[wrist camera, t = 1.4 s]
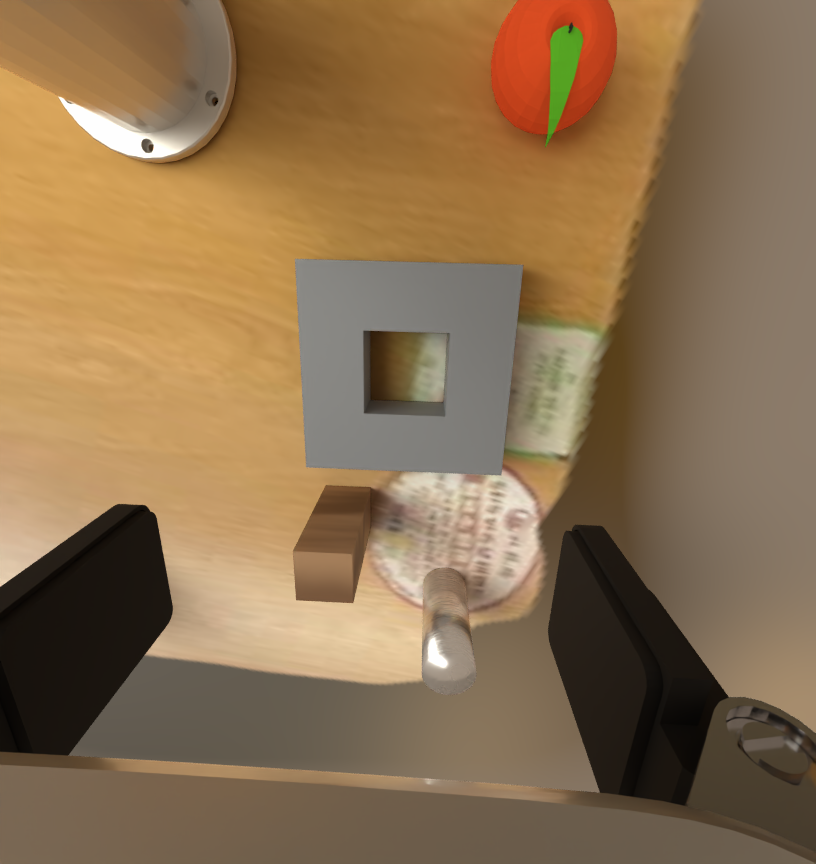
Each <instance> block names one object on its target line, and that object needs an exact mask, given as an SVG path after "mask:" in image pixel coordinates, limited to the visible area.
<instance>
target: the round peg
mask: <svg viewBox="0 0 816 864" xmlns="http://www.w3.org/2000/svg"><path fill="white" fill-rule="evenodd" d="M422 678H423V681H424V683H425V684H426V685H427V686H428V687H429V688H430V689H431V690H433V691H435V692H437V693H440V694H444V695H455V694H459V693H462V692H464V691H466V690H468V689H469V688H470V687H471V686H472V685H473V683H474V682H475V679H476V667H475V659H474V652H473V643H472V636H471V627H470V619H469V611H468V603H467V595H466V587H465V581H464V579H463V577H462V575H461V574H460V573H458V572H457V571H455V570H453V569H450V568H438V569H435V570H433V571H431V572H430V573H428V574H427V575H426V577H425V579H424V582H423V626H422Z"/></svg>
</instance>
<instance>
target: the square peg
mask: <svg viewBox="0 0 816 864" xmlns="http://www.w3.org/2000/svg"><path fill="white" fill-rule="evenodd" d="M370 528H371V487H349V486H325V488H324V490H323V492H322V494H321V496H320V498H319V500H318V502H317V504H316V506H315V508H314V510H313V512H312V514H311V516H310V518H309V520H308V522H307V524H306V526H305V528H304V530H303V532H302V534H301V536H300V538H299V540H298V542H297V544H296V546H295V548H294V550H293V560H294V575H295V589H296V600H303V601H322V602H341V603H353V601H354V597H355V593H356V589H357V584H358V580H359V576H360V571H361V567H362V563H363V558H364V554H365V550H366V546H367V541H368V537H369V533H370Z"/></svg>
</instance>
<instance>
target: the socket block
mask: <svg viewBox="0 0 816 864" xmlns="http://www.w3.org/2000/svg"><path fill="white" fill-rule="evenodd" d="M295 267H296V286H297V304H298V323H299V341H300V360H301V378H302V397H303V415H304V434H305V452H306V467H313V468H337V469H361V470H385V471H410V472H434V473H458V474H482V475H501V473H502V463H503V454H504V444H505V435H506V425H507V416H508V406H509V397H510V387H511V378H512V368H513V359H514V349H515V340H516V330H517V320H518V311H519V301H520V292H521V282H522V273H523V265H507V264H469V263H431V262H393V261H355V260H317V259H295ZM370 331H396V332H428V333H447V347H446V365H445V384H444V402H417V401H390V400H371V382H370Z"/></svg>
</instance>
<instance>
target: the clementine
mask: <svg viewBox="0 0 816 864" xmlns="http://www.w3.org/2000/svg"><path fill="white" fill-rule="evenodd" d="M616 48H617V28H616V23H615V18H614V13H613V10H612V8H611V6H610V4H609V2H608V0H518V1H517V3H516V4H515V5H514V7H513V8H512V10H511V11H510V13H509V14H508V16H507V17H506V19H505V21H504V22H503V24H502V26H501V29H500V31H499V34H498V36H497V38H496V41H495V44H494V50H493V55H492V61H491V76H492V88H493V92H494V96H495V99H496V103H497V104H498V106H499V108H500V110H501V111H502V113H503V115H504V116H505V117H506V118H507V119H508V120H509V121H510V122H511V123H512V124H513V125H514V126H516V127H518V128H519V129H521V130H523V131H525V132H528V133H534V134H540V135H541V134H547V140H546V145H547V144H548V142H549V140H550V138H551V137H552V135H553V133H555V132H557V131H560V130H562V129H564V128H566V127H569V126H570V125H572V124H574V123H575V122H577V121H578V120H579V119H580V118H582V117H583V116H584V115H585V114H587V113H588V112H589V110H590V109H591V108H592V106H593V105H594V104H595V103H596V101H597V100H598V99H599V97H600V96H601V94H602V92H603V90H604V88H605V86H606V84H607V82H608V80H609V78H610V76H611V74H612V70H613V66H614V62H615V58H616ZM546 145H545V147H546Z"/></svg>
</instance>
